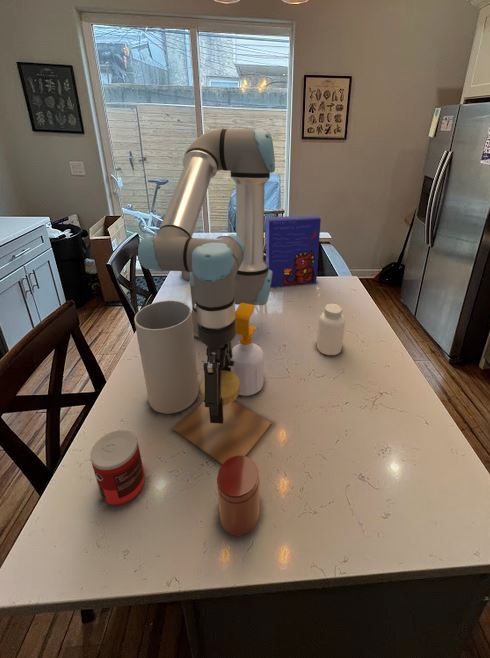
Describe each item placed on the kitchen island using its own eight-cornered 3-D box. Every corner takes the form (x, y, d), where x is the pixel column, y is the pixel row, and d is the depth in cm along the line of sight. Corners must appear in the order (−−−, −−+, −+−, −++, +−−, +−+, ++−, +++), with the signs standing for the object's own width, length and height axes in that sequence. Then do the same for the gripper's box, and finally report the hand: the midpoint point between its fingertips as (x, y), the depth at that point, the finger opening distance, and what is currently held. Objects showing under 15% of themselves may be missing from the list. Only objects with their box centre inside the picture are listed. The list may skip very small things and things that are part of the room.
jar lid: (247, 387, 74) (247, 380, 73) (221, 413, 68) (220, 405, 67) (219, 371, 78) (219, 365, 78) (192, 394, 72) (191, 387, 71)
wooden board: (173, 429, 77) (173, 428, 76) (215, 392, 87) (215, 390, 87) (232, 472, 68) (232, 471, 67) (271, 424, 78) (271, 422, 78)
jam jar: (211, 519, 60) (207, 480, 56) (237, 485, 65) (235, 447, 61) (242, 545, 56) (240, 506, 52) (266, 507, 62) (267, 469, 58)
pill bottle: (341, 358, 101) (346, 316, 95) (315, 354, 102) (318, 313, 97) (342, 342, 108) (346, 302, 102) (317, 338, 110) (321, 299, 104)
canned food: (110, 468, 68) (100, 430, 64) (150, 465, 69) (142, 428, 64) (94, 508, 61) (81, 469, 57) (138, 505, 62) (129, 466, 57)
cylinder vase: (147, 385, 89) (133, 306, 79) (194, 373, 94) (186, 296, 84) (150, 422, 78) (134, 335, 69) (203, 406, 83) (195, 322, 73)
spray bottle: (268, 376, 93) (269, 301, 83) (255, 400, 85) (254, 320, 75) (239, 368, 96) (237, 295, 86) (224, 391, 88) (220, 312, 78)
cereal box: (311, 277, 152) (316, 214, 141) (316, 283, 147) (320, 218, 135) (265, 281, 147) (266, 216, 136) (268, 287, 142) (269, 220, 130)
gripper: (211, 293, 76) (216, 371, 85) (180, 353, 56) (191, 446, 65) (243, 295, 76) (245, 372, 84) (223, 355, 56) (228, 448, 65)
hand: (221, 404), depth 75 cm, fingers closed on jar lid, 8 cm apart
